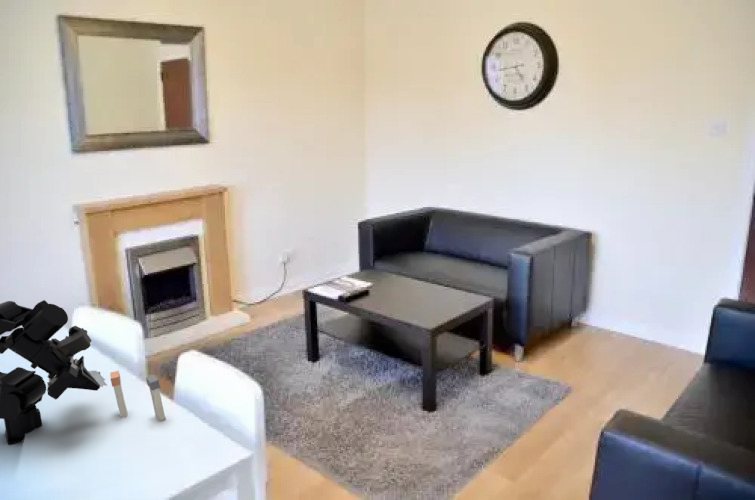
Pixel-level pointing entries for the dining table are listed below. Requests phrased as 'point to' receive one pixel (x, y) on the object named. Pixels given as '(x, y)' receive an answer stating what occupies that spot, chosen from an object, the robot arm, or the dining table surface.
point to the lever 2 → (156, 396)
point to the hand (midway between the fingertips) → (98, 388)
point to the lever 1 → (118, 392)
